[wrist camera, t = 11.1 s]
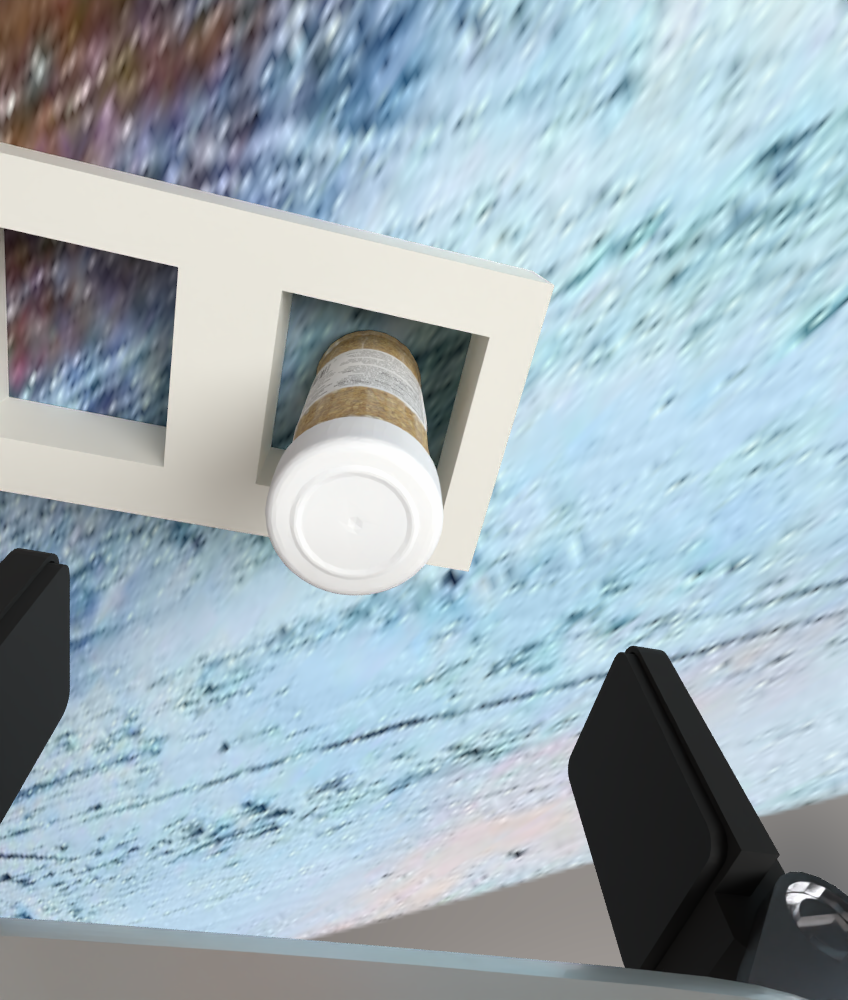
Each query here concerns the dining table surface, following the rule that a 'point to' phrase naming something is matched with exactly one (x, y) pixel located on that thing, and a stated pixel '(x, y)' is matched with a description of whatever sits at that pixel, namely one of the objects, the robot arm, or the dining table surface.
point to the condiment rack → (251, 347)
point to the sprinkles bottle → (358, 473)
